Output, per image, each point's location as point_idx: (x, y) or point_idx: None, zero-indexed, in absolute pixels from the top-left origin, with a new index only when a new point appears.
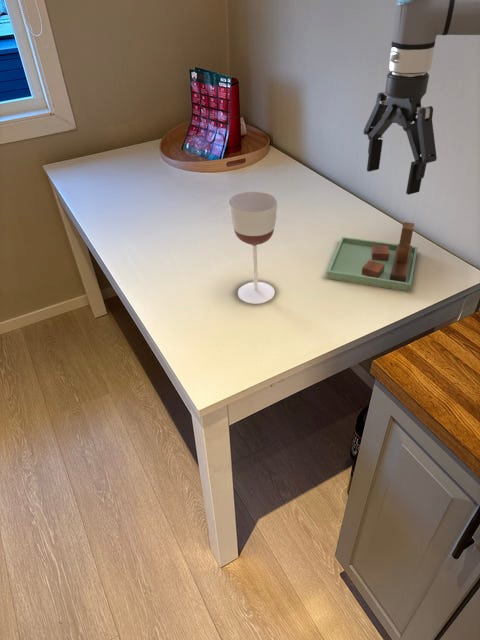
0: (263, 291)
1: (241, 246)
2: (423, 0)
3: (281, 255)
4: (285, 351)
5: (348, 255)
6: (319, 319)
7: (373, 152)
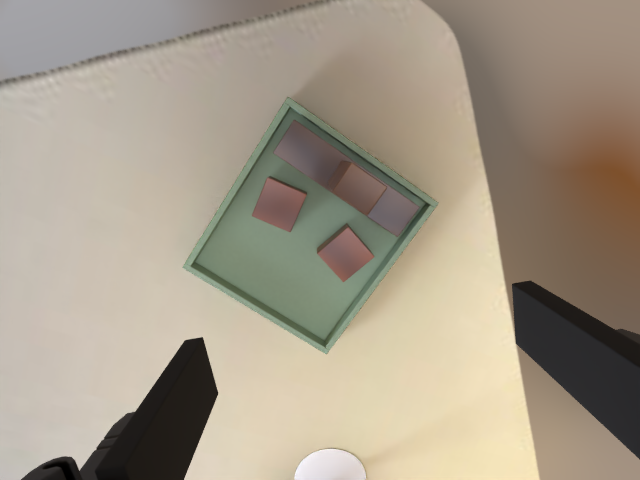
0: (337, 471)
1: None
2: None
3: None
4: (504, 472)
5: (256, 272)
6: (448, 400)
7: (180, 459)
